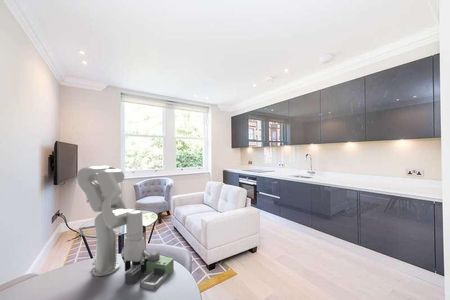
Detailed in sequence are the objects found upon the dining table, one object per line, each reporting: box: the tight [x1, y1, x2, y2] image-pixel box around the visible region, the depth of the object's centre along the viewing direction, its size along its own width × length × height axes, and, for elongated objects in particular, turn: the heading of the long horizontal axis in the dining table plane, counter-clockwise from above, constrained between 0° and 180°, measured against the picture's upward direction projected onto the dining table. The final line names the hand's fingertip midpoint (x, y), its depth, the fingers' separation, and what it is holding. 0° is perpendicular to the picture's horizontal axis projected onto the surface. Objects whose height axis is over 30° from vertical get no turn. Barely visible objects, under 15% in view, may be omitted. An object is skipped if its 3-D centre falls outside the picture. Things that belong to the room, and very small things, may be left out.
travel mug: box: [131, 225, 147, 266], centre depth 111 cm, size 8×8×20 cm
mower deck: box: [139, 250, 174, 291], centre depth 97 cm, size 16×16×9 cm
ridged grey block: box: [124, 265, 144, 286], centre depth 94 cm, size 4×7×5 cm, turn 163°
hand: (135, 270), depth 94 cm, fingers open, 9 cm apart
